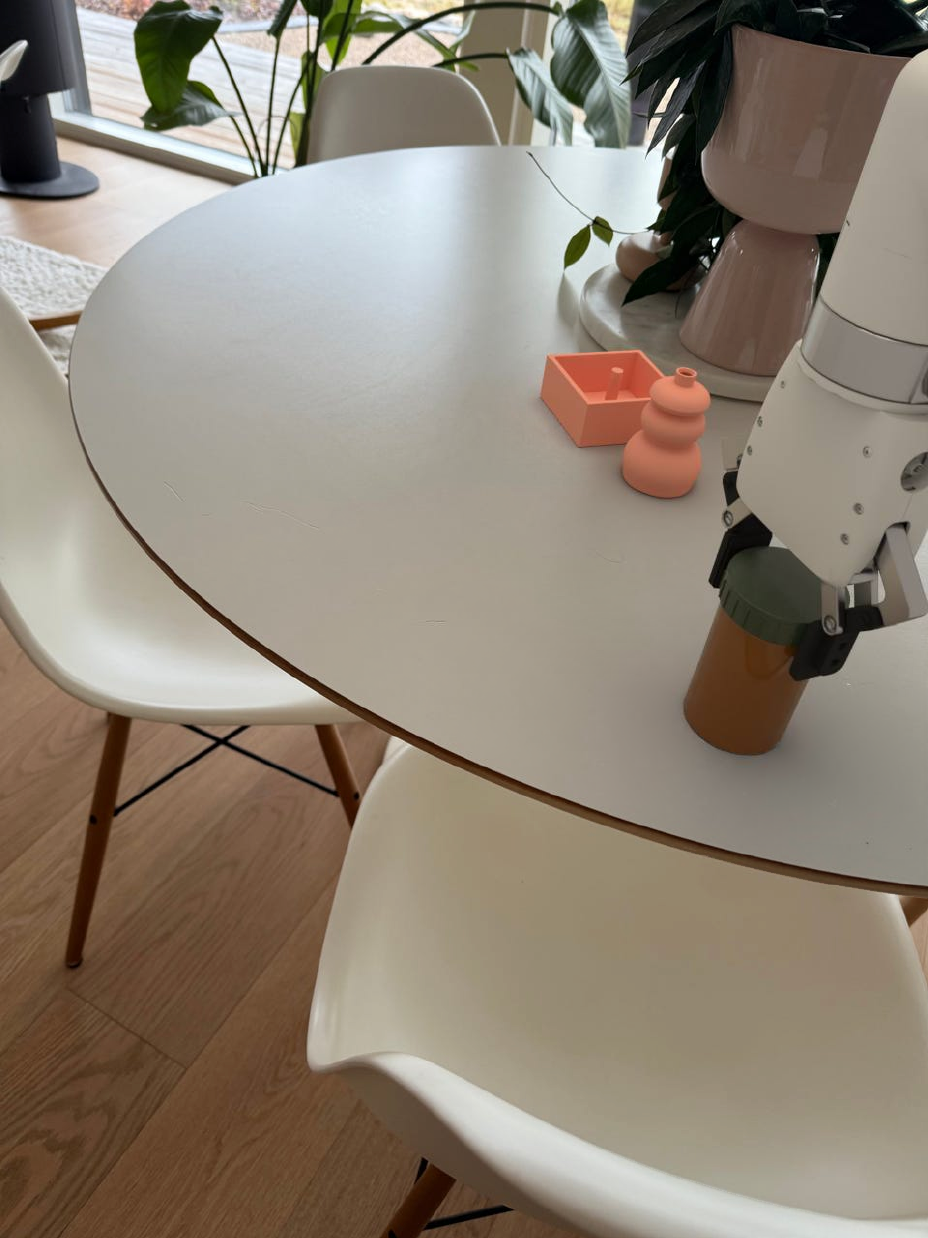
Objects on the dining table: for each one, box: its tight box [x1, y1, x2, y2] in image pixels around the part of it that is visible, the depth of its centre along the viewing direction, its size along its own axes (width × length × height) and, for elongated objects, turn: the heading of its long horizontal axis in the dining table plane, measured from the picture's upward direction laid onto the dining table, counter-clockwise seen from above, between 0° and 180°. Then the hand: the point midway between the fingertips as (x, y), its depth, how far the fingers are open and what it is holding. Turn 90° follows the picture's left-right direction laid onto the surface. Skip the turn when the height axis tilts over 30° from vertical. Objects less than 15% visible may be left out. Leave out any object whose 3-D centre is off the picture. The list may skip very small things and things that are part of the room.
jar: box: [683, 601, 810, 756], centre depth 61 cm, size 6×6×11 cm
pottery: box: [539, 349, 711, 499], centre depth 86 cm, size 18×10×10 cm, turn 19°
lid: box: [718, 545, 851, 647], centre depth 57 cm, size 7×7×2 cm
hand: (770, 624), depth 59 cm, fingers open, 7 cm apart
